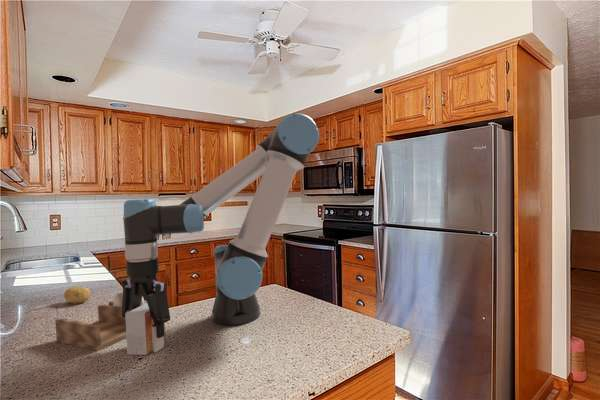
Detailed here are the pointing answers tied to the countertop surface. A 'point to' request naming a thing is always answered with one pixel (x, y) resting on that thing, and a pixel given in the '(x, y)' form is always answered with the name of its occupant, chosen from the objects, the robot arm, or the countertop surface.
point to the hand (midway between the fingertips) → (147, 346)
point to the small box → (139, 330)
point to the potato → (77, 294)
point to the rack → (95, 327)
